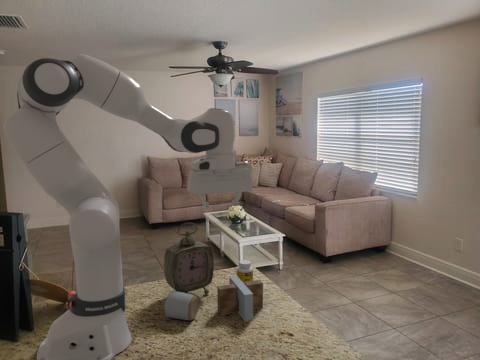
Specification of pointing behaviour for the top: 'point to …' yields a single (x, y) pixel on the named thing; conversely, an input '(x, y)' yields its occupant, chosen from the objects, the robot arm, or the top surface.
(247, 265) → the supplement bottle
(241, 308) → the slate board
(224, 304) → the walnut board
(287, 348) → the top surface
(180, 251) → the tabletop clock
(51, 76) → the robot arm
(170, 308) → the ceramic mug
